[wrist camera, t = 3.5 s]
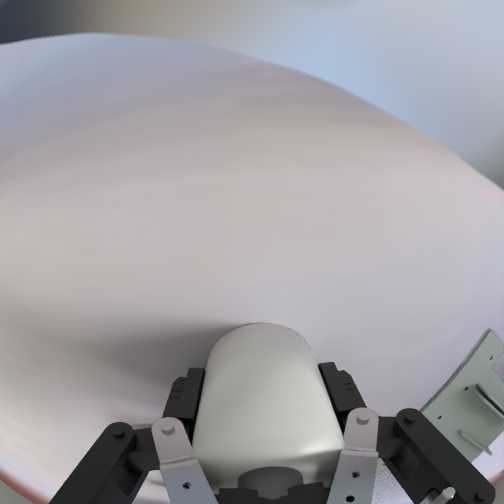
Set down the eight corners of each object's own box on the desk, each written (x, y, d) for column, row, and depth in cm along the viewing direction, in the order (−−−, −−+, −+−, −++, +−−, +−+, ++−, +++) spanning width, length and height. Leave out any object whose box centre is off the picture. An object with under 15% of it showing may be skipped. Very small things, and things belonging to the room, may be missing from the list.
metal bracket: (547, 398, 11) (436, 507, 13) (520, 376, 16) (425, 473, 19) (495, 326, 12) (346, 474, 15) (459, 306, 18) (343, 431, 21)
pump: (317, 319, 13) (388, 467, 5) (309, 401, 15) (343, 531, 6) (202, 324, 13) (158, 483, 5) (213, 405, 15) (197, 540, 6)
